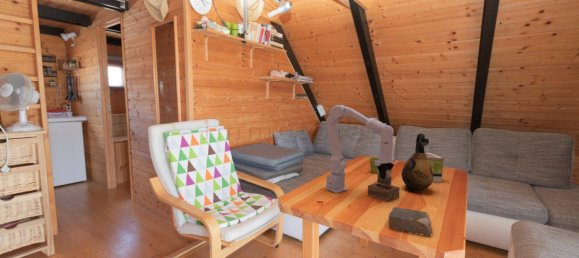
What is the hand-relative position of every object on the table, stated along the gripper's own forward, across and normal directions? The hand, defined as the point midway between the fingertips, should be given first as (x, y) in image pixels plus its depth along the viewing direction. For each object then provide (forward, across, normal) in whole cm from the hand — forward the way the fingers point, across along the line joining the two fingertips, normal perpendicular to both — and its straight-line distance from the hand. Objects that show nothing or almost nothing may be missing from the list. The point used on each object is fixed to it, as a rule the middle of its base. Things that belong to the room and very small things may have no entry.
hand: (384, 178), depth 134 cm
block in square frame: (+9, 0, 0) cm, 9 cm away
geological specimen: (+10, -20, -24) cm, 33 cm away
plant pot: (+9, +34, +28) cm, 45 cm away
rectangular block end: (+3, 0, 0) cm, 3 cm away
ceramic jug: (+9, +24, -4) cm, 26 cm away
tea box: (+10, +49, +2) cm, 50 cm away
